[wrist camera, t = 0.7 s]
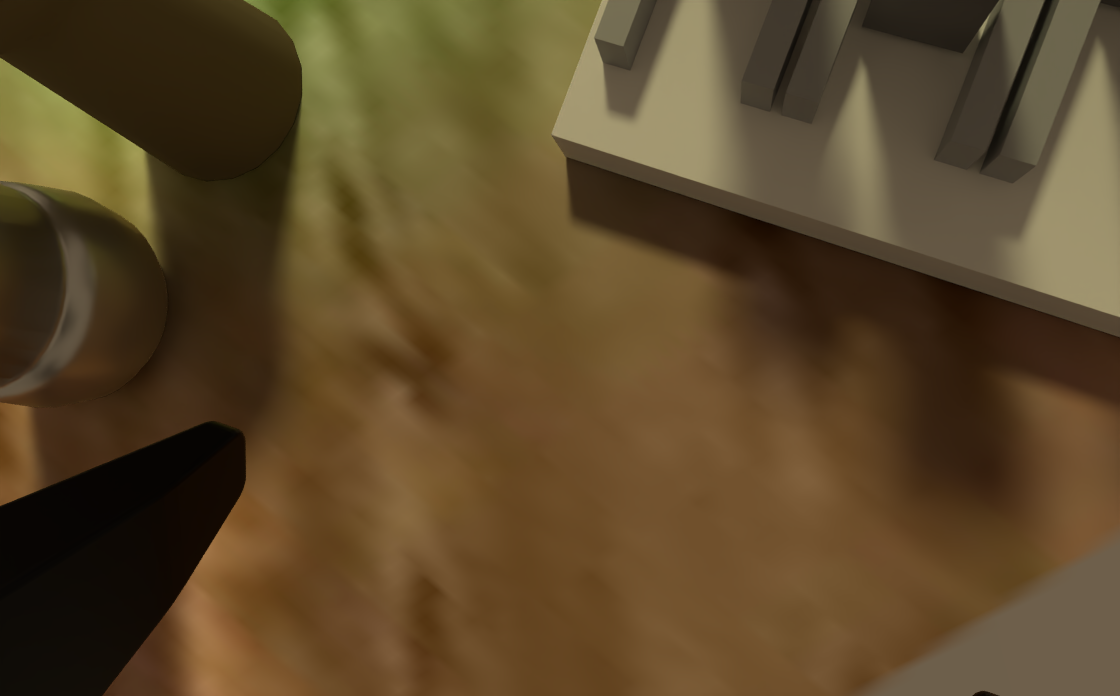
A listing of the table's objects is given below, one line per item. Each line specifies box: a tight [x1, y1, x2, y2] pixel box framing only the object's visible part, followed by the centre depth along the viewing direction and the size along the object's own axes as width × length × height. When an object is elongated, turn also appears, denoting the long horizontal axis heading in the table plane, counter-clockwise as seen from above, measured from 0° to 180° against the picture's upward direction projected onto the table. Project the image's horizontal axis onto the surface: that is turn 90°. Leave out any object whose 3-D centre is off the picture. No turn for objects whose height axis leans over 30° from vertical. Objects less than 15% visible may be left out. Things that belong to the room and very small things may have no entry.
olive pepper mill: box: [0, 0, 302, 181], centre depth 21 cm, size 6×6×11 cm
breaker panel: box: [551, 0, 1120, 337], centre depth 20 cm, size 9×16×4 cm, turn 69°
